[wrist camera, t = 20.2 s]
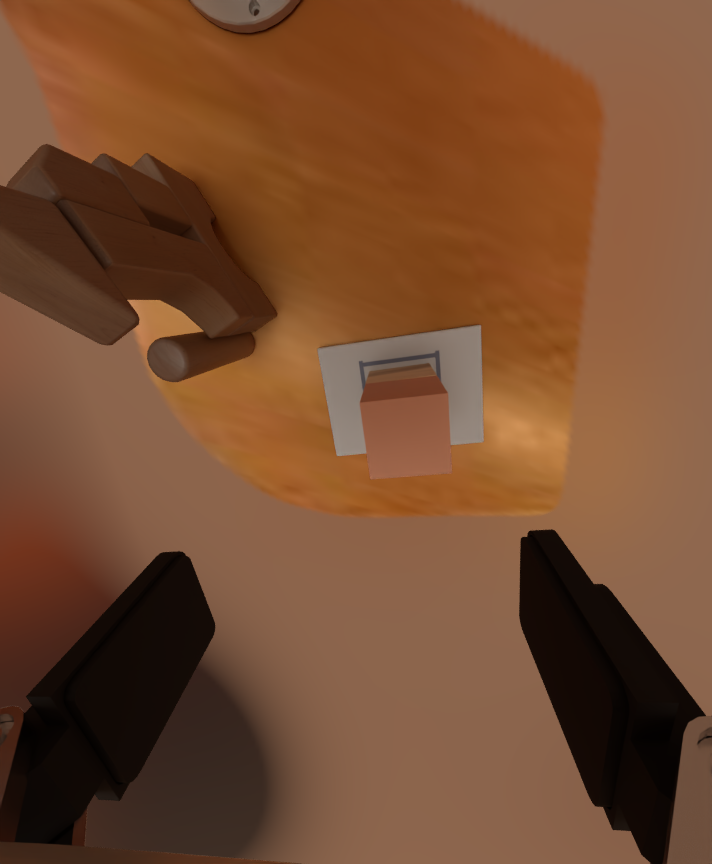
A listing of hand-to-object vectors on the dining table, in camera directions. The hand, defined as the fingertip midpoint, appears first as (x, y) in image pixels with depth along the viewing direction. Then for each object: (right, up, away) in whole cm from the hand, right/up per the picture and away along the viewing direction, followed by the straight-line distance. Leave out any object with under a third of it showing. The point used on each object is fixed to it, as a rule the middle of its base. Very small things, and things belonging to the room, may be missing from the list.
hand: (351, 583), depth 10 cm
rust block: (+4, +6, +20) cm, 21 cm away
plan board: (+5, +8, +27) cm, 28 cm away
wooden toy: (-14, +20, +25) cm, 34 cm away
